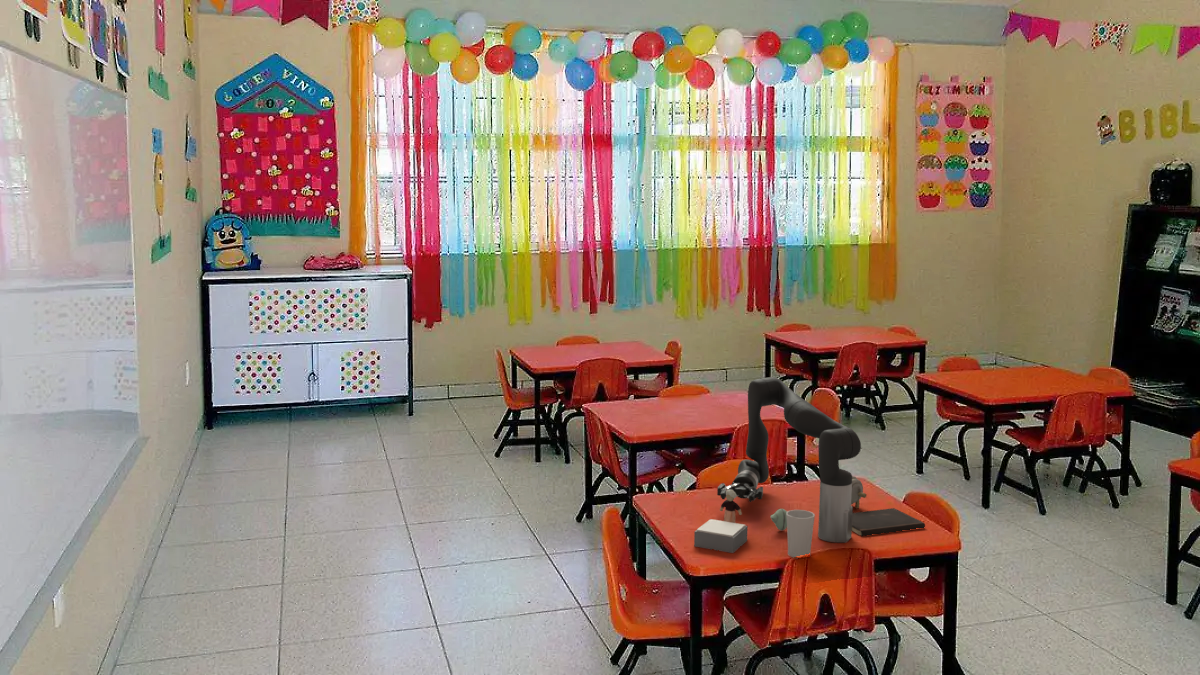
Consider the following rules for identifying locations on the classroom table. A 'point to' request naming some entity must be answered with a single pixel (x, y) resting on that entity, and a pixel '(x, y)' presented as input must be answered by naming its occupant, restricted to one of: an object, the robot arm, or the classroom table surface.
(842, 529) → the robot arm
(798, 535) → the cup
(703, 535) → the plinth
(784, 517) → the robot head
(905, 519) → the hardcover book
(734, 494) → the grandmother figurine
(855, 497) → the toy sheep
